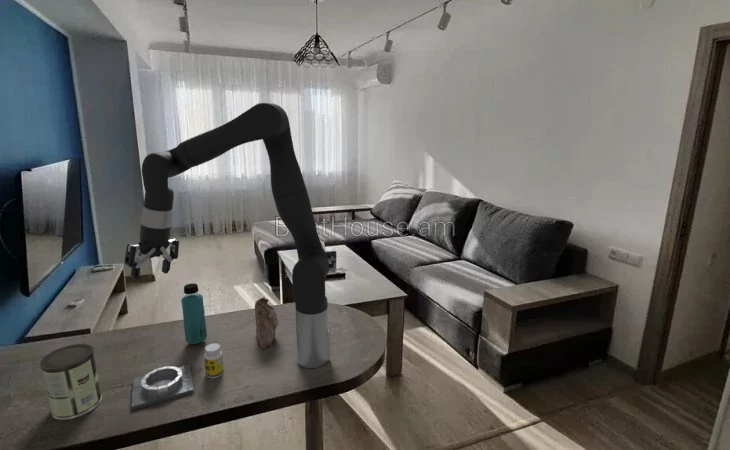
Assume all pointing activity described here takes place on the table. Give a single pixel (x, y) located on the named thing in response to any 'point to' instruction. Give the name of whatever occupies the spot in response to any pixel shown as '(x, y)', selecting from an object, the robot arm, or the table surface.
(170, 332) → the table surface
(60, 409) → the coffee can
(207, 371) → the supplement bottle
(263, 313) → the stone
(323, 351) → the robot arm
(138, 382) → the ring base
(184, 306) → the beverage bottle
